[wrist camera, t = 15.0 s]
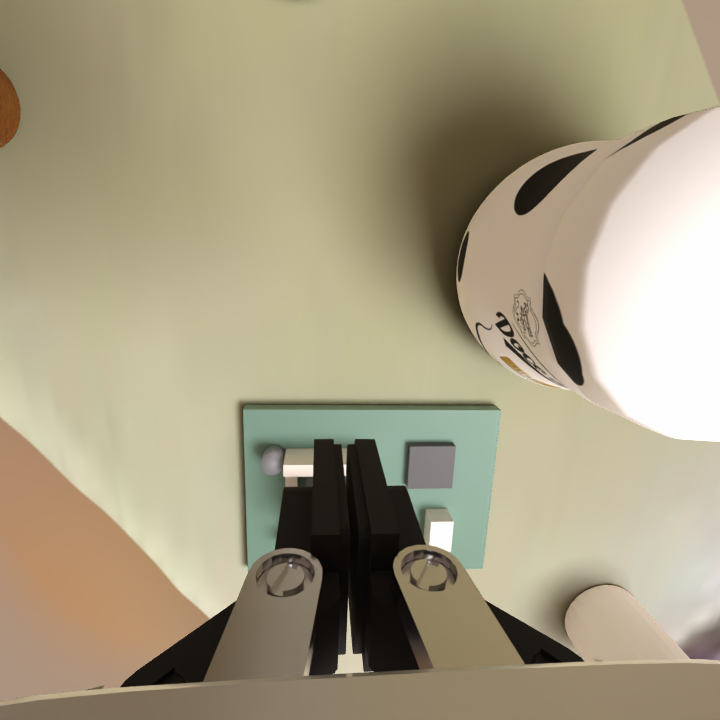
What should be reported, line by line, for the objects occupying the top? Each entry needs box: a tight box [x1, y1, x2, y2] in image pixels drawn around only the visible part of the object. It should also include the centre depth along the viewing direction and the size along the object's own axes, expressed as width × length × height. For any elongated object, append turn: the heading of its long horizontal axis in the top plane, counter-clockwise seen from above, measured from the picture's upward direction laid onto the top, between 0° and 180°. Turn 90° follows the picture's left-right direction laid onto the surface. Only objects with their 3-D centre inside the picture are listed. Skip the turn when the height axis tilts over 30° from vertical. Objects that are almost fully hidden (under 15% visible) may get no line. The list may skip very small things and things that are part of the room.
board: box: [243, 405, 501, 572], centre depth 38 cm, size 16×22×4 cm
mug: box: [565, 585, 690, 662], centre depth 41 cm, size 12×8×10 cm, turn 31°
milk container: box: [456, 106, 720, 442], centre depth 28 cm, size 17×17×18 cm
